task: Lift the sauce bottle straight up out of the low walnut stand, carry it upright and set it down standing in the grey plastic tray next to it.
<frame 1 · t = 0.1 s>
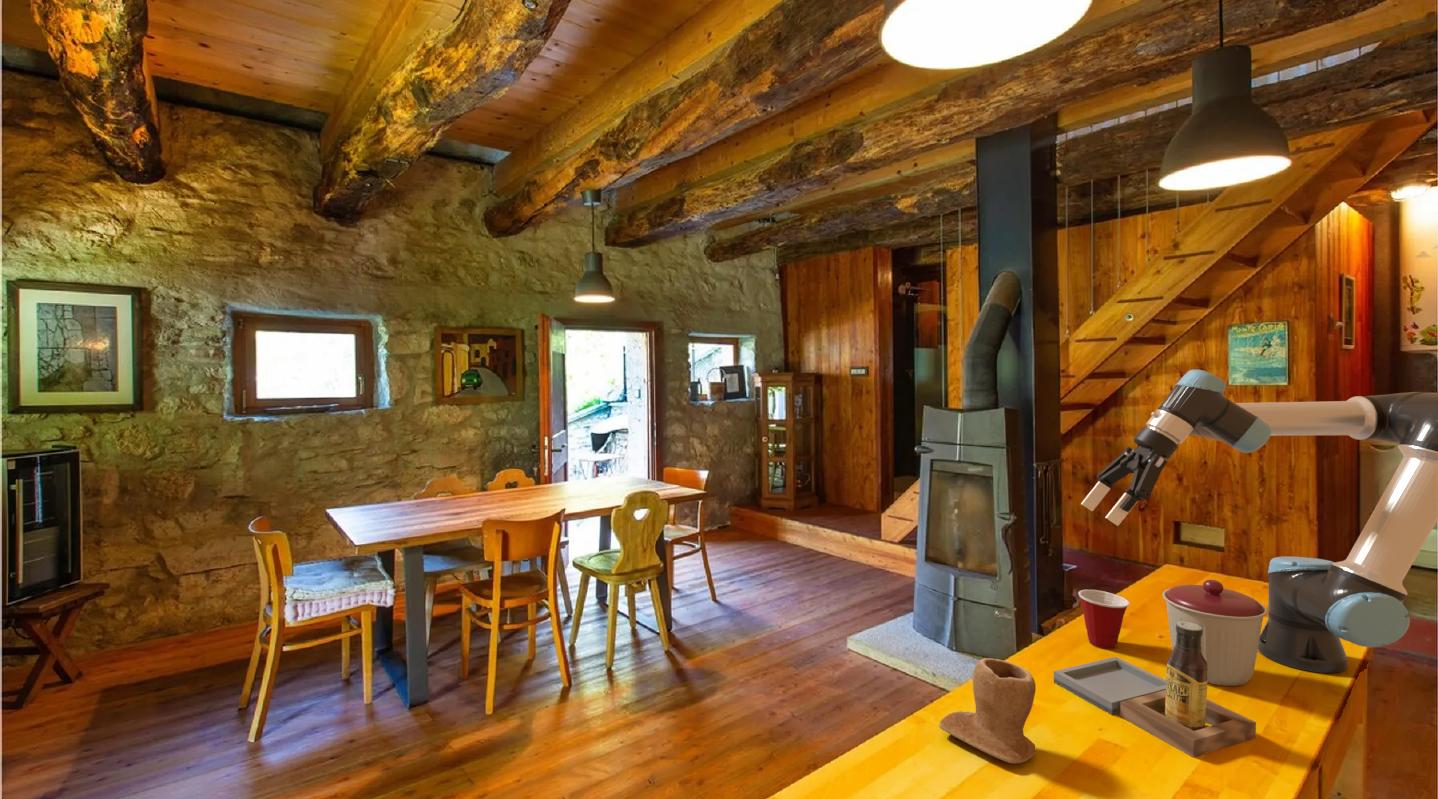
hand: (1098, 514, 140), 36 cm above the table, tool tilted 35°, fingers open, 13 cm apart
canister: (1212, 675, 140), on the table
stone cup: (992, 744, 118), on the table
tray: (1114, 689, 135), on the table
plastic cup: (1103, 644, 157), on the table
sauce bottle: (1185, 728, 121), resting in bottle stand
bottle stand: (1185, 726, 121), on the table
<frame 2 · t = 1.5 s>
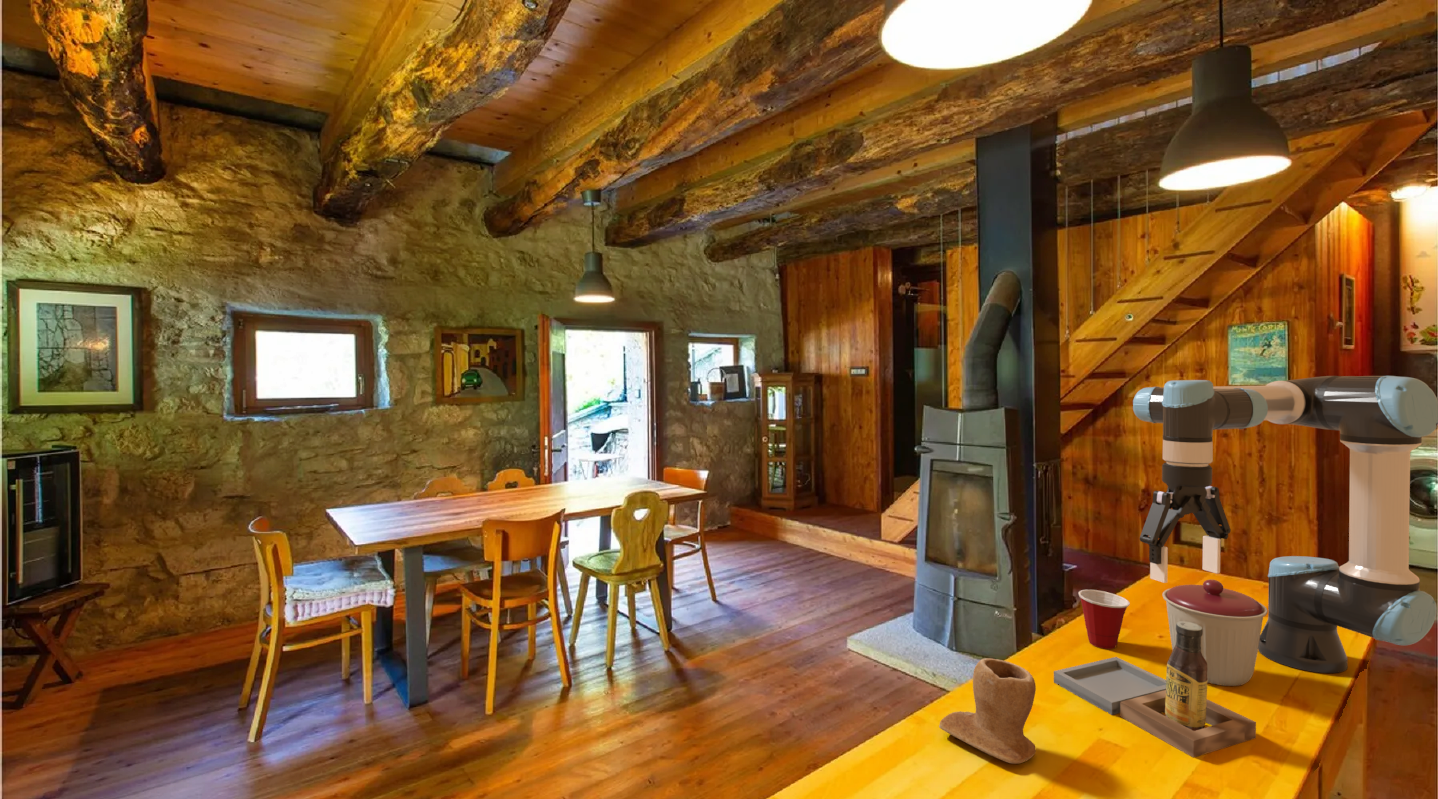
hand: (1185, 576, 120), 29 cm above the table, tool pointing down, fingers open, 13 cm apart
nothing on the table moved.
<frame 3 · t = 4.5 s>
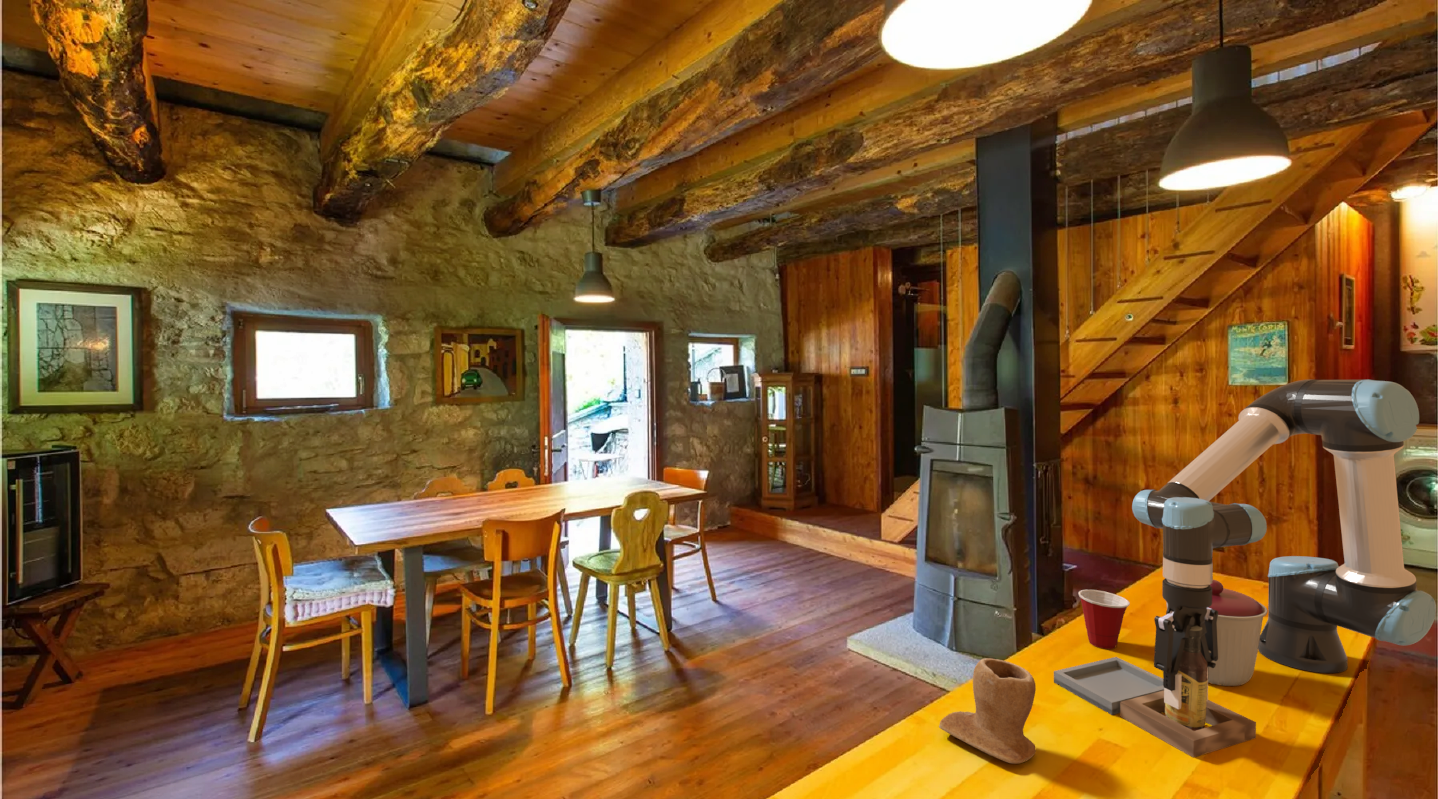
hand: (1185, 701, 121), 5 cm above the table, tool pointing down, fingers closed on sauce bottle, 6 cm apart
sauce bottle: (1185, 728, 121), resting in bottle stand, touching gripper
everything else where it was.
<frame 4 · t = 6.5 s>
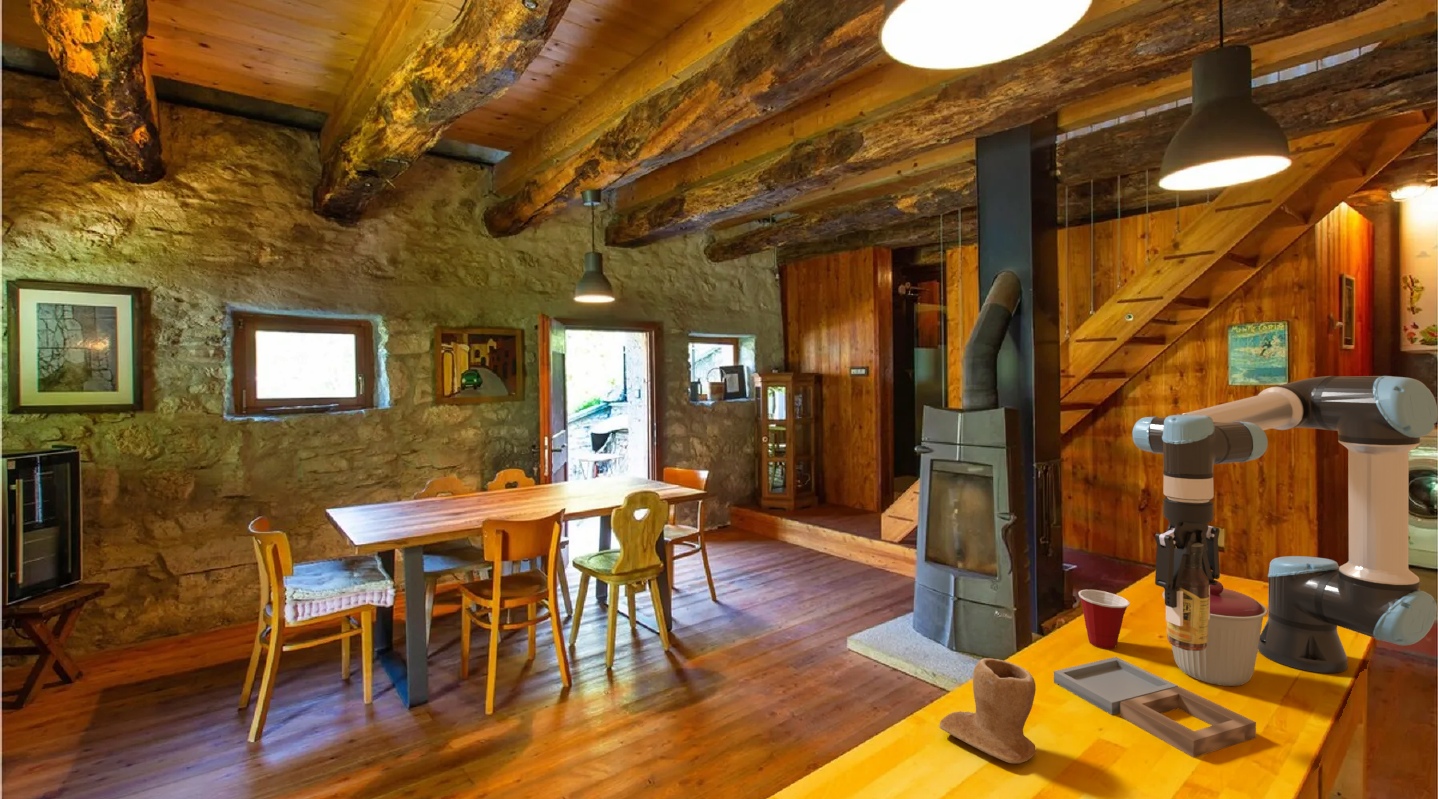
hand: (1187, 619, 120), 21 cm above the table, tool pointing down, fingers closed on sauce bottle, 6 cm apart
sauce bottle: (1187, 646, 120), point 15 cm above the table, touching gripper
everything else where it was.
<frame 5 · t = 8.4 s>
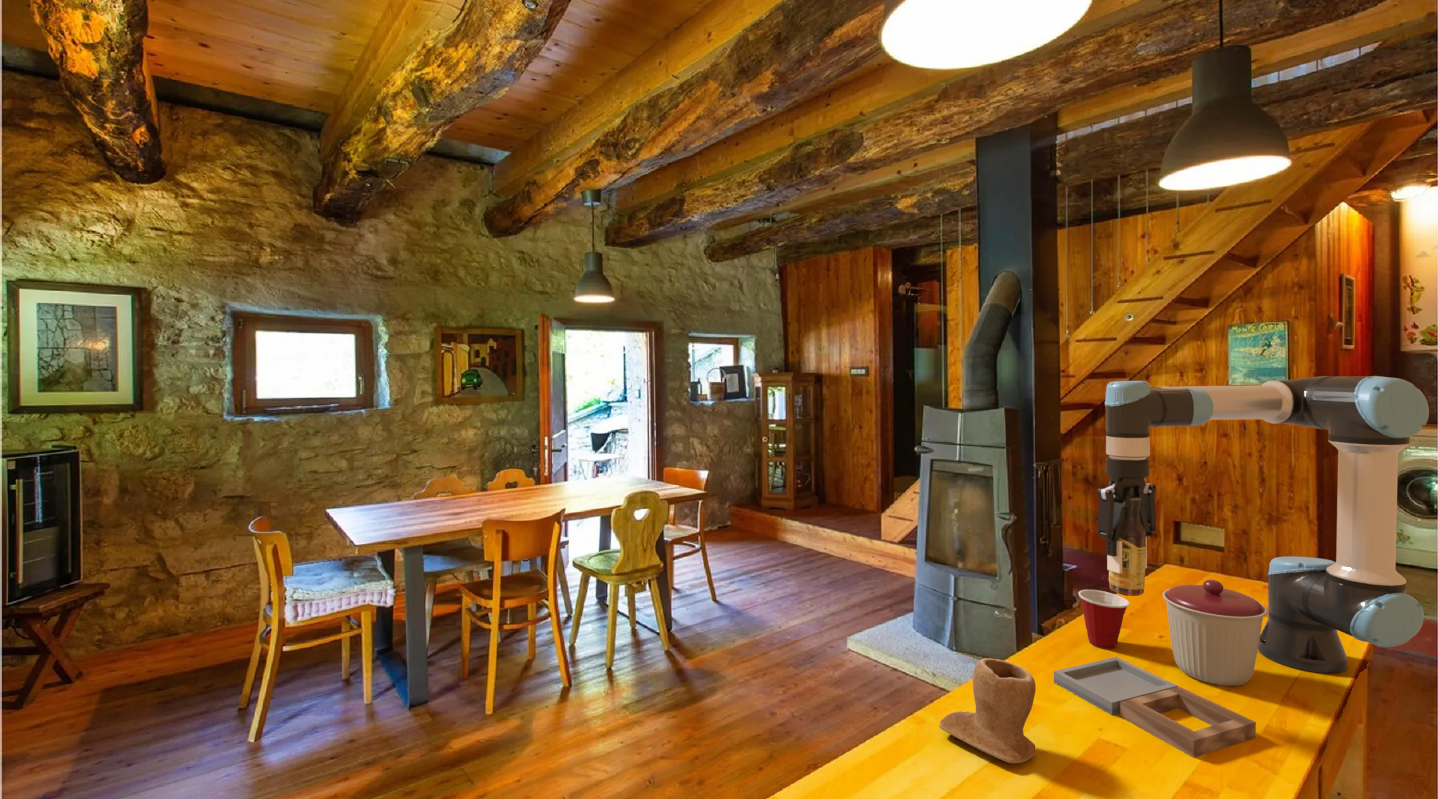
hand: (1127, 568, 131), 27 cm above the table, tool pointing down, fingers closed on sauce bottle, 6 cm apart
sauce bottle: (1127, 593, 131), point 22 cm above the table, touching gripper
everything else where it was.
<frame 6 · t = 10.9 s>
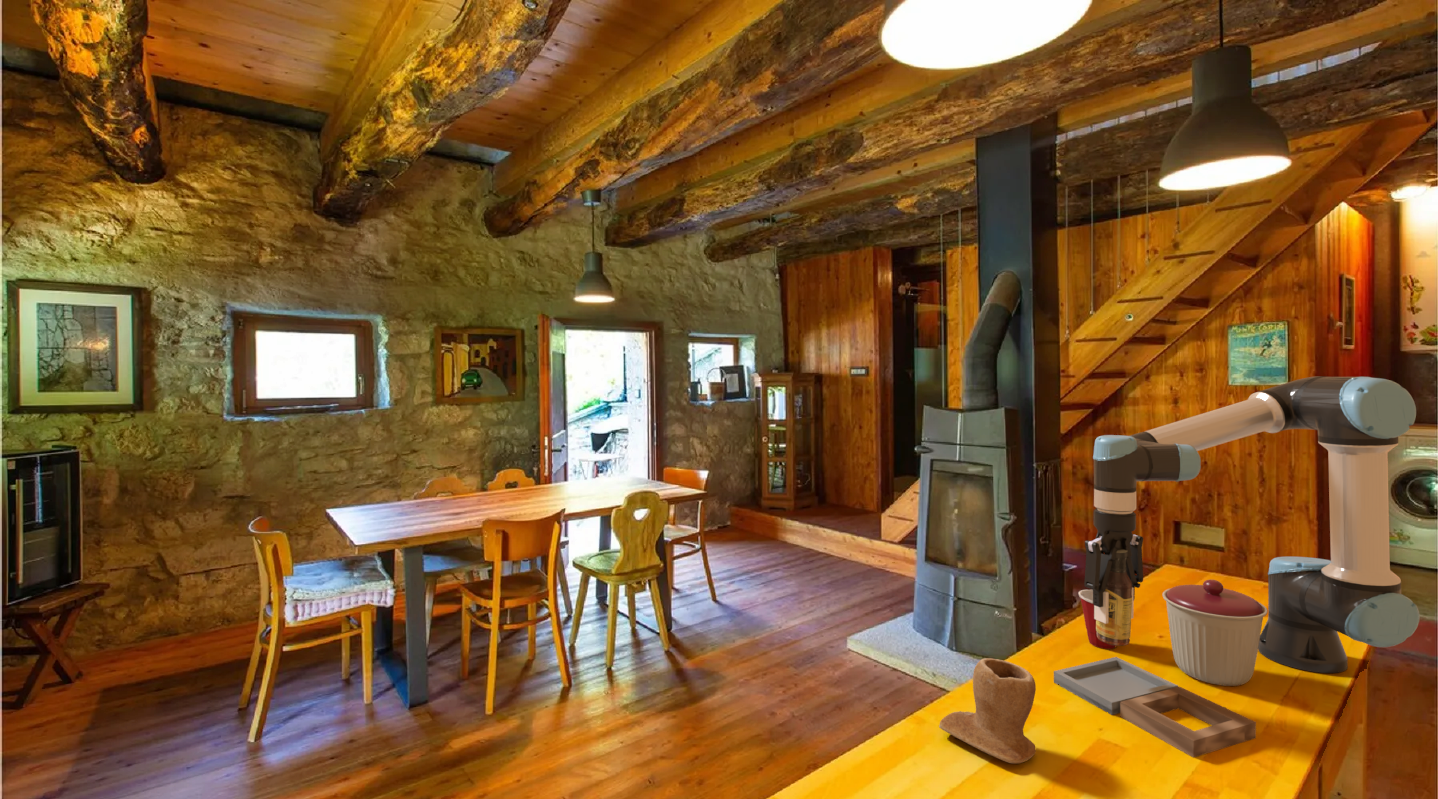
hand: (1113, 618, 134), 15 cm above the table, tool pointing down, fingers closed on sauce bottle, 6 cm apart
sauce bottle: (1113, 642, 135), point 10 cm above the table, touching gripper
everything else where it was.
when the fingers open (7 cm above the table, at t = 12.8 s): sauce bottle drops 1 cm, resting on tray.
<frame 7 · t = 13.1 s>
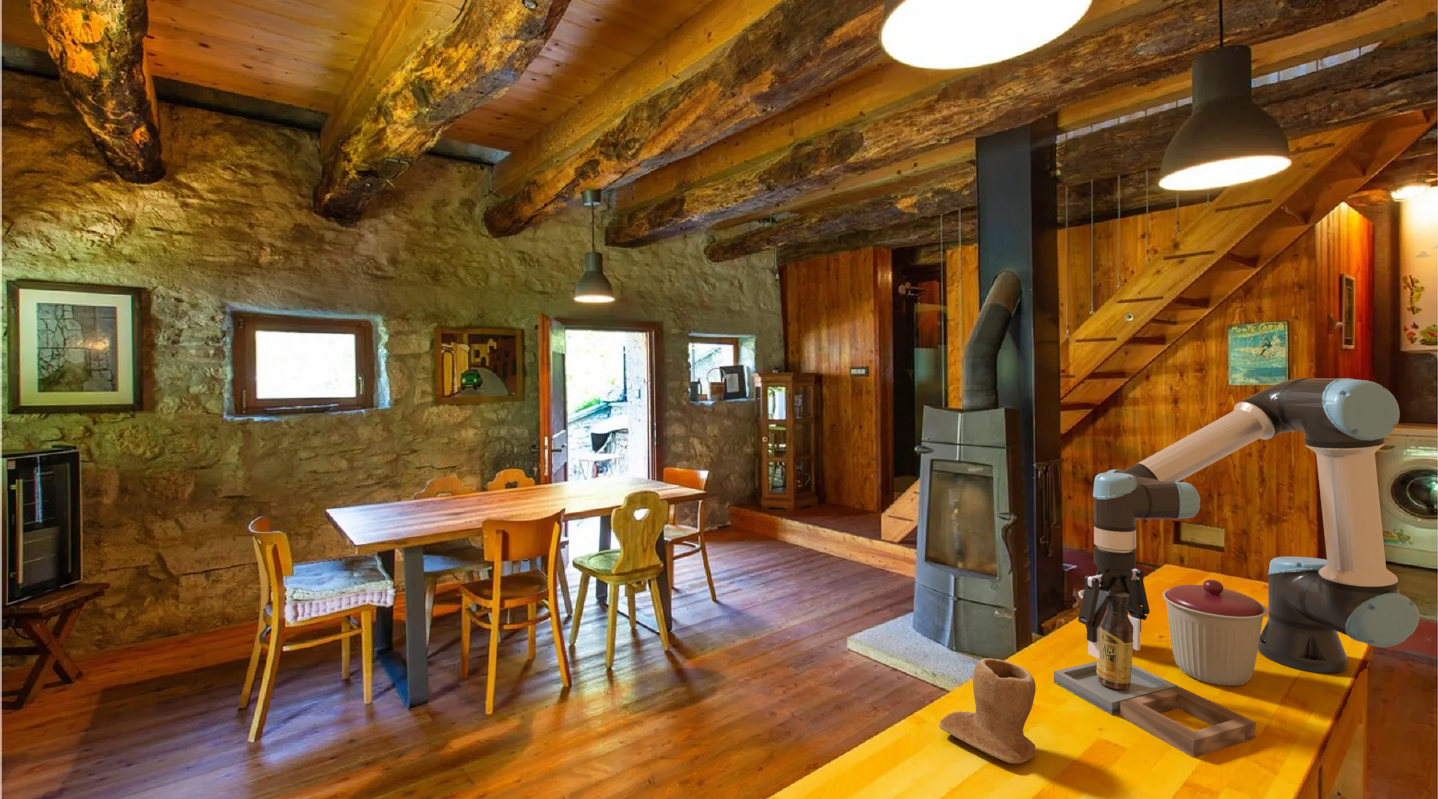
hand: (1114, 651, 135), 8 cm above the table, tool pointing down, fingers open, 10 cm apart
sauce bottle: (1114, 685, 135), point 1 cm above the table, touching tray
everything else where it was.
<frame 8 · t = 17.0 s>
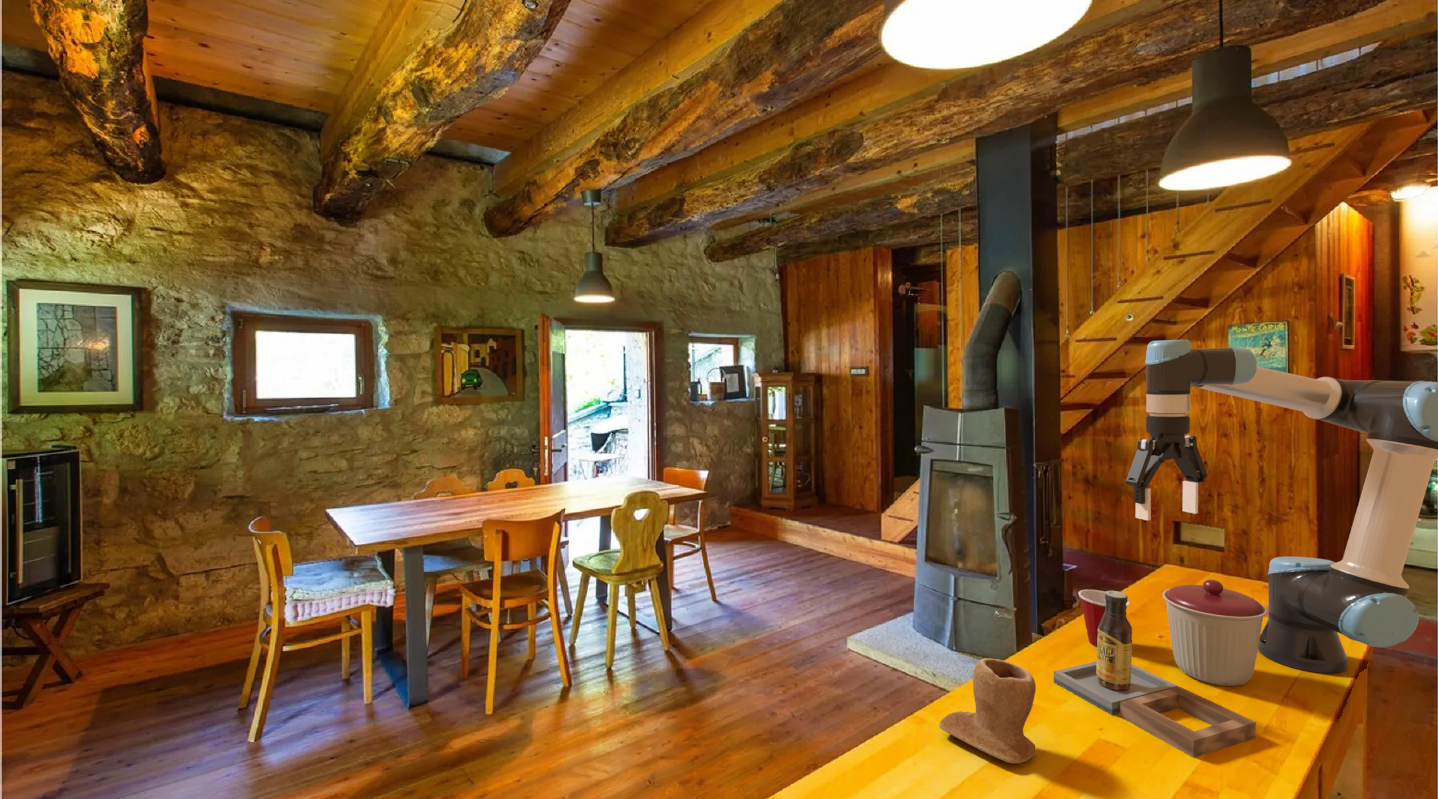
hand: (1166, 515, 134), 37 cm above the table, tool pointing down, fingers open, 13 cm apart
nothing on the table moved.
at the end: sauce bottle inside the target area on the tray (0.1 cm from its centre), point 0.8 cm above the tray's base; sauce bottle tilted 0°; the gripper is holding nothing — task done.
